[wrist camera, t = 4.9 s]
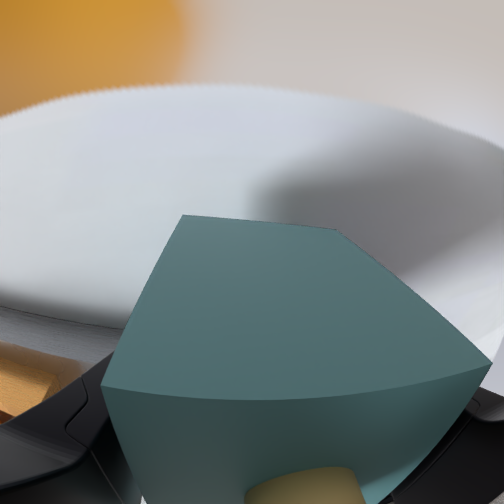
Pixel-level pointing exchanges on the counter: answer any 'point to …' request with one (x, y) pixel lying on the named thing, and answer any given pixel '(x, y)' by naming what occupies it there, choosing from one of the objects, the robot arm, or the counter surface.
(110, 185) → the counter surface
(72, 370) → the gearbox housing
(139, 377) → the oil can
